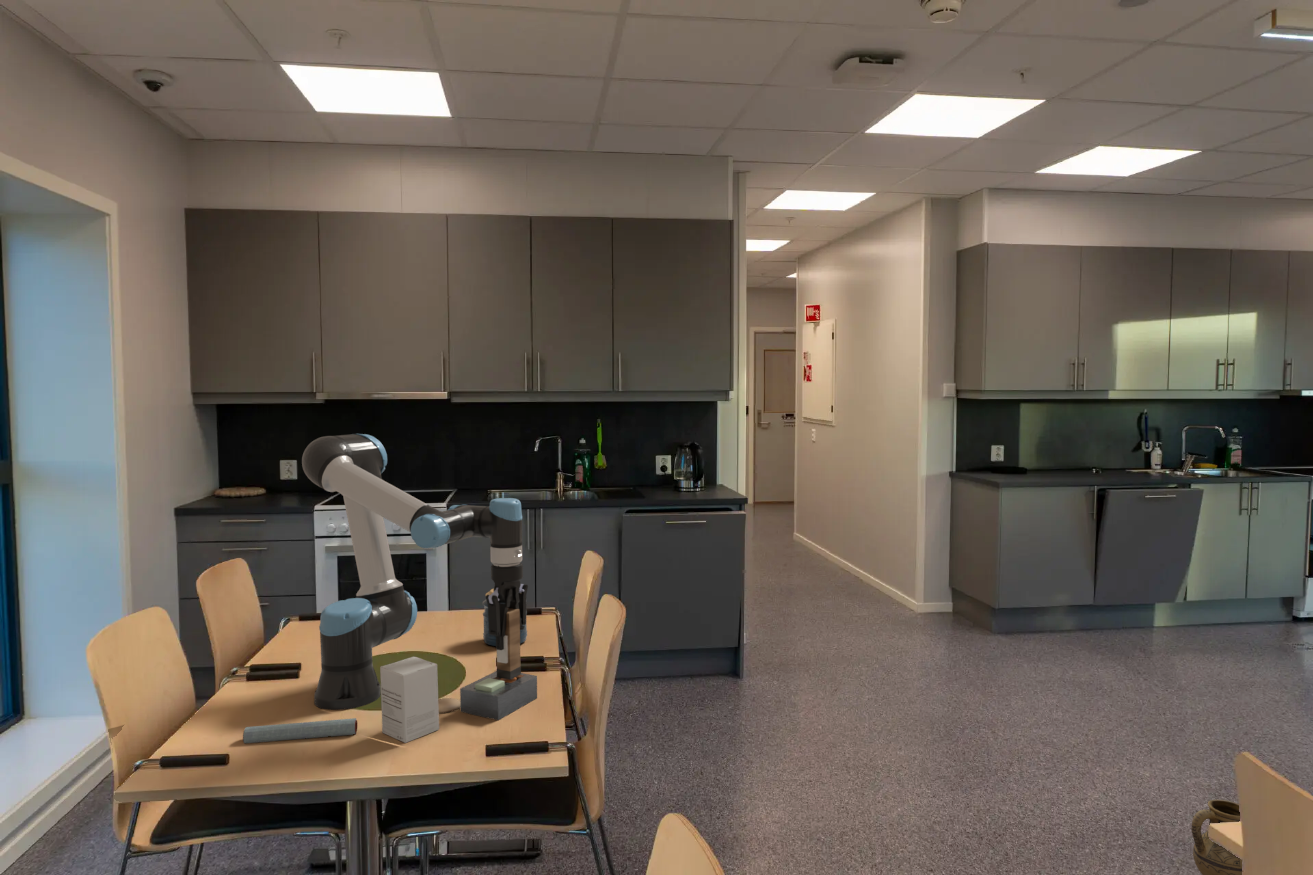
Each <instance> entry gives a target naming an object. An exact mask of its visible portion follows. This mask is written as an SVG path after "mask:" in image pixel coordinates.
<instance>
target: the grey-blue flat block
mask: <svg viewBox="0 0 1313 875" xmlns="http://www.w3.org/2000/svg"><path fill="white" fill-rule="evenodd" d="M357 731H358V720H357V718H343V719H342V718H341V719H331V720H330V719H329V720H327V719H326V720H319V721H318V720H317V721H305V722H303V721H302V722H294V723H280V724H267V725H257V726H256V725H255V726H246V727H245V728H244V729H243V731H242V732H243V733H242V740H243V741H242V742H243V744H252V743H253V744H254V743H266V742H278V741H280V742H281V741H290V740H291V741H292V740H302V739H303V740H304V739H305V738H306V739H317V738H326V737H327V738H329V737H328V736H331V737H340V736H341V737H342V736H352V735H353V734H355V735H356V734H357ZM353 736H354V735H353ZM306 739H305V740H306Z"/></svg>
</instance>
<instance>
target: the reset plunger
mask: <svg viewBox="0 0 1313 875" xmlns="http://www.w3.org/2000/svg"><path fill="white" fill-rule="evenodd" d="M500 680H502V681H505V682H508V683H512V682H514V681H516V680H517V678H516V677H515V678H513V679H511V680H509V679H504V678H501V679H500Z"/></svg>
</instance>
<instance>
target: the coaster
mask: <svg viewBox="0 0 1313 875" xmlns="http://www.w3.org/2000/svg"><path fill="white" fill-rule="evenodd" d="M438 707H439V715H441V714H449V713H452V712H455V711H458V710H460V709H461V707H460V699H458V698H453V697H444V698H443V697H442V698H438Z"/></svg>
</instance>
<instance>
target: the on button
mask: <svg viewBox="0 0 1313 875" xmlns="http://www.w3.org/2000/svg"><path fill="white" fill-rule="evenodd" d="M504 686H505V681H502V680H497V679H492V678H487V679H485V680H483V681H481V682H479V683H477V684H475V689H477V690H482V691H487V692H491V693H492V692H494V691H496V690H498V689H500V688H502V687H504Z"/></svg>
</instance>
